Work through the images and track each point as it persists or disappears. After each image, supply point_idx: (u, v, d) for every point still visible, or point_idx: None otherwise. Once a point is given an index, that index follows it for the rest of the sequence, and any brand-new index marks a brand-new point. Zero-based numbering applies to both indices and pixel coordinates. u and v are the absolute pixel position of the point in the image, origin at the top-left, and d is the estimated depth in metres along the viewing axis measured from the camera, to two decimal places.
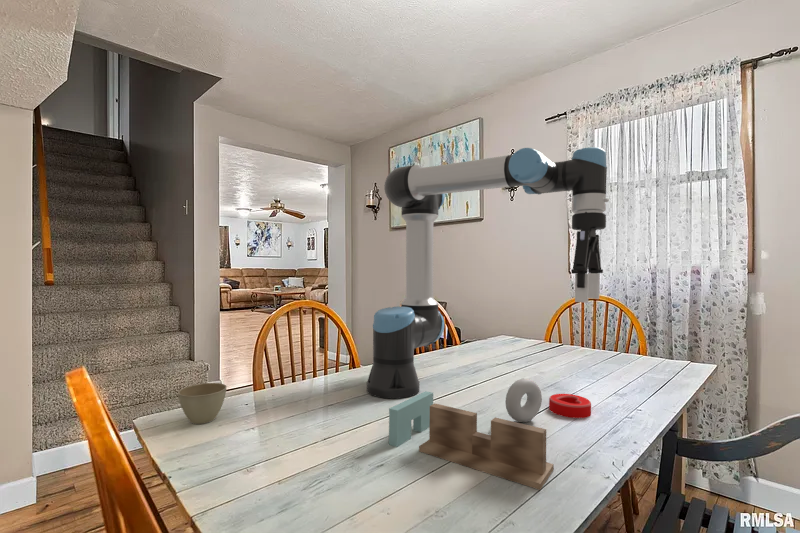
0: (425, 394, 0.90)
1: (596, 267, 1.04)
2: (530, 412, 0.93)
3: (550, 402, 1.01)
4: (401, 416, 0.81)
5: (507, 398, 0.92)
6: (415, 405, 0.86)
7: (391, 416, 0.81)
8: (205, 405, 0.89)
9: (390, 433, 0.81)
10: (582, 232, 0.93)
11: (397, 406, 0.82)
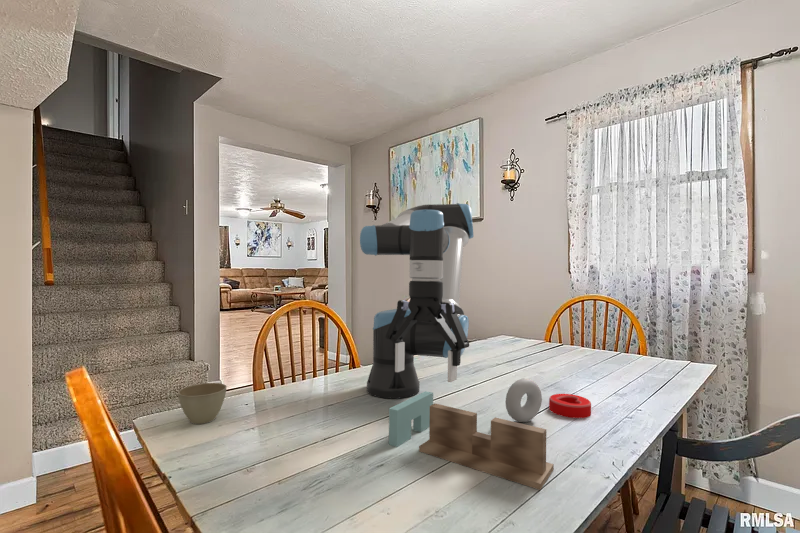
0: (425, 394, 0.90)
1: None
2: (530, 412, 0.93)
3: (550, 402, 1.01)
4: (401, 416, 0.81)
5: (507, 398, 0.92)
6: (415, 405, 0.86)
7: (391, 416, 0.81)
8: (205, 405, 0.89)
9: (390, 433, 0.81)
10: None
11: (397, 406, 0.82)
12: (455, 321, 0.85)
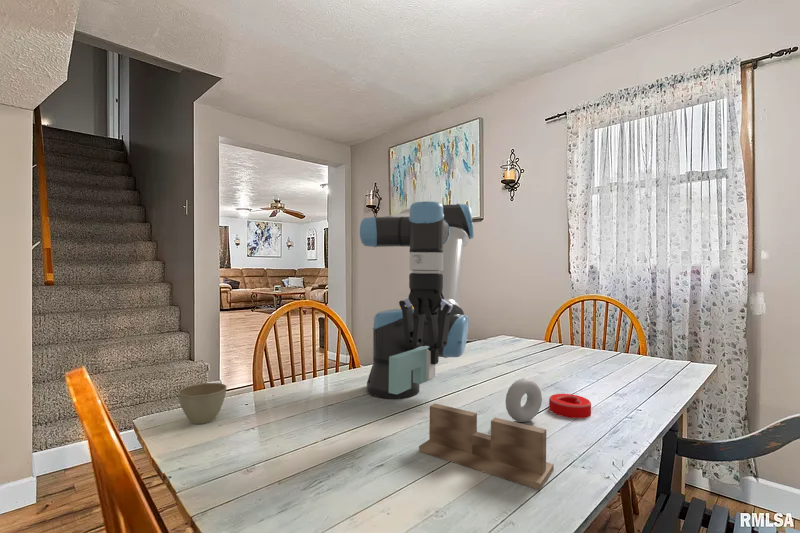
0: (425, 348, 0.90)
1: None
2: (530, 412, 0.93)
3: (550, 402, 1.01)
4: (400, 364, 0.81)
5: (507, 398, 0.92)
6: (415, 356, 0.86)
7: (391, 364, 0.81)
8: (205, 405, 0.89)
9: (390, 381, 0.81)
10: None
11: (397, 355, 0.82)
12: (445, 322, 0.87)
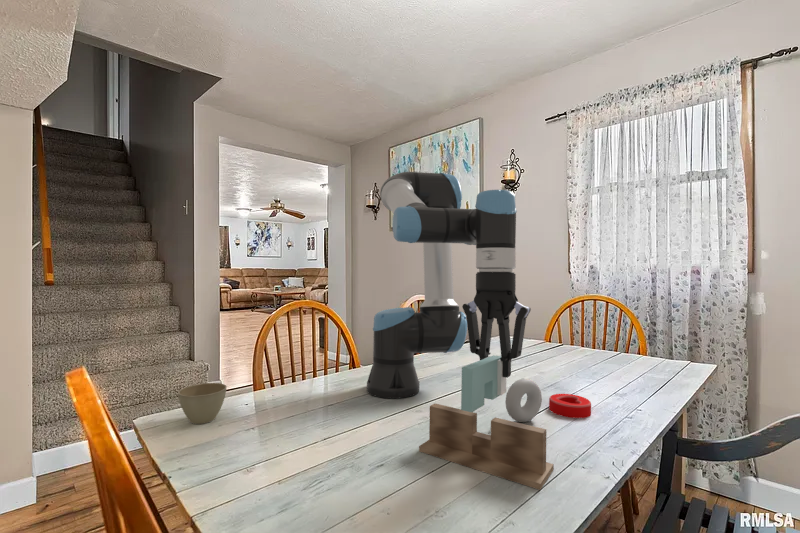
0: (495, 358, 0.78)
1: None
2: (530, 412, 0.93)
3: (550, 402, 1.01)
4: (475, 377, 0.69)
5: (507, 398, 0.92)
6: (488, 367, 0.73)
7: (465, 376, 0.69)
8: (205, 405, 0.89)
9: (463, 396, 0.69)
10: None
11: (470, 366, 0.70)
12: (521, 328, 0.75)
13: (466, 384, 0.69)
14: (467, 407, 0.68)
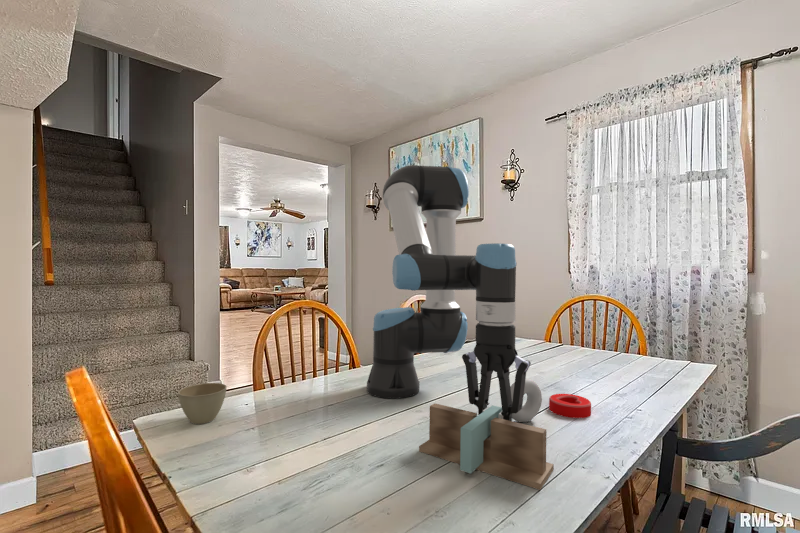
0: (494, 410, 0.78)
1: None
2: (530, 412, 0.93)
3: (550, 402, 1.01)
4: (474, 437, 0.69)
5: None
6: (487, 423, 0.74)
7: (463, 437, 0.69)
8: (205, 405, 0.89)
9: (462, 457, 0.69)
10: None
11: (469, 425, 0.70)
12: (521, 383, 0.75)
13: (465, 445, 0.69)
14: (466, 468, 0.68)
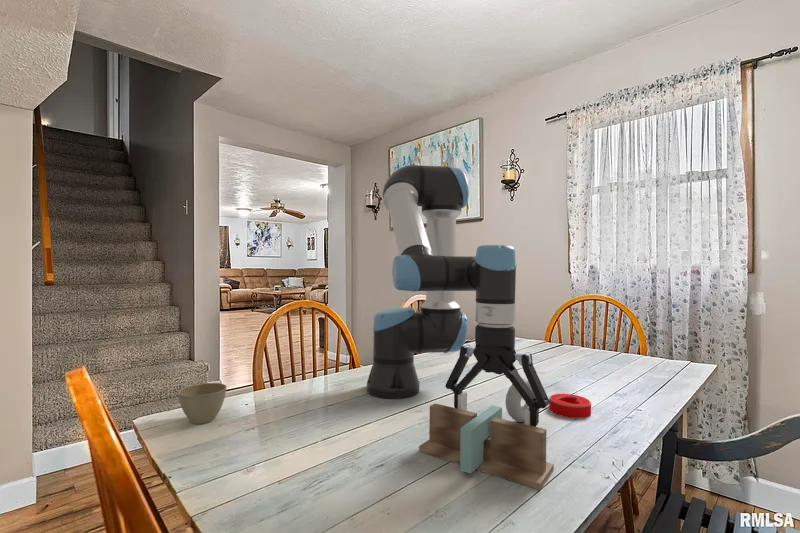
0: (494, 410, 0.78)
1: None
2: None
3: (550, 402, 1.01)
4: (474, 437, 0.69)
5: (507, 398, 0.92)
6: (487, 423, 0.74)
7: (463, 437, 0.69)
8: (205, 405, 0.89)
9: (462, 457, 0.69)
10: None
11: (469, 425, 0.70)
12: (533, 375, 0.74)
13: (465, 445, 0.69)
14: (466, 468, 0.68)
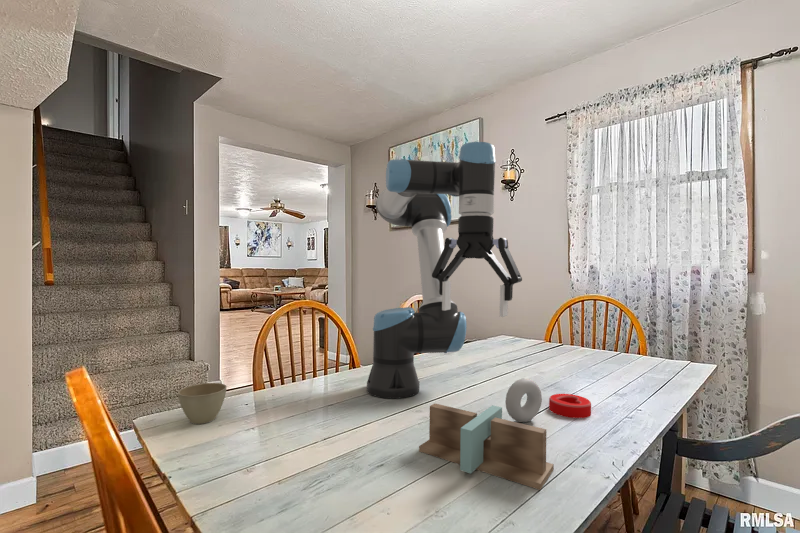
0: (494, 410, 0.78)
1: None
2: (530, 412, 0.93)
3: (550, 402, 1.01)
4: (474, 437, 0.69)
5: (507, 398, 0.92)
6: (487, 423, 0.74)
7: (463, 437, 0.69)
8: (205, 405, 0.89)
9: (462, 457, 0.69)
10: None
11: (469, 425, 0.70)
12: (508, 255, 0.84)
13: (465, 445, 0.69)
14: (466, 468, 0.68)
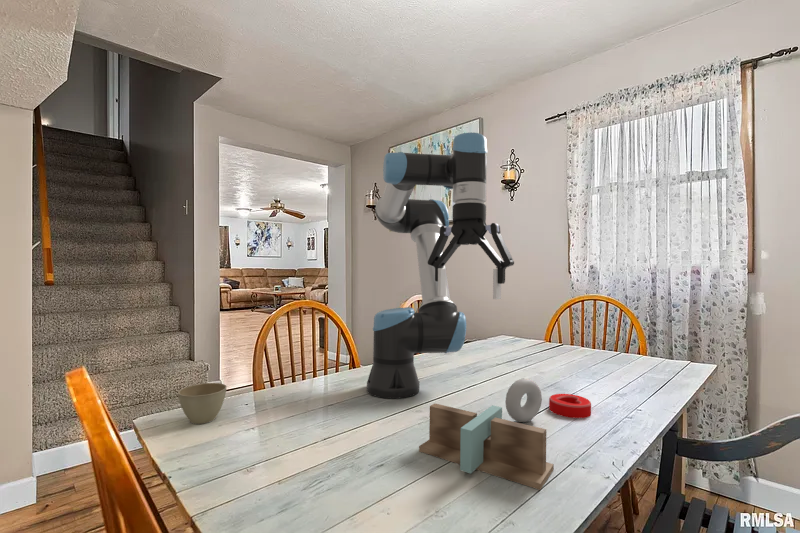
0: (494, 410, 0.78)
1: None
2: (530, 412, 0.93)
3: (550, 402, 1.01)
4: (474, 437, 0.69)
5: (507, 398, 0.92)
6: (487, 423, 0.74)
7: (463, 437, 0.69)
8: (205, 405, 0.89)
9: (462, 457, 0.69)
10: None
11: (469, 425, 0.70)
12: (500, 240, 0.87)
13: (465, 445, 0.69)
14: (466, 468, 0.68)
